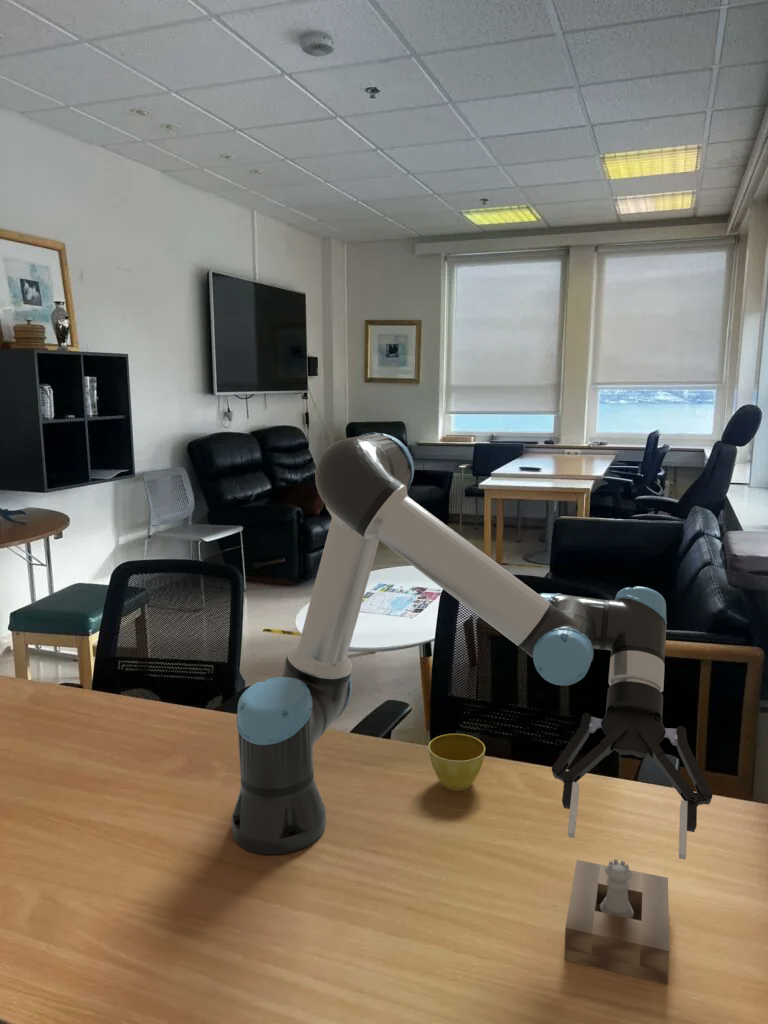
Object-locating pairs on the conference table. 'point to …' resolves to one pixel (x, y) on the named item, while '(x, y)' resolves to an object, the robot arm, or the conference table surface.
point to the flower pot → (456, 759)
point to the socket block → (619, 925)
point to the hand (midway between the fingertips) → (625, 846)
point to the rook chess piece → (617, 890)
